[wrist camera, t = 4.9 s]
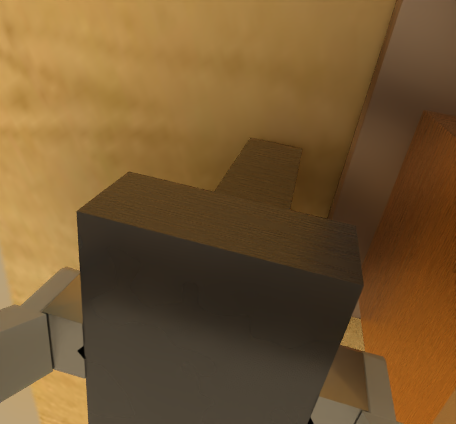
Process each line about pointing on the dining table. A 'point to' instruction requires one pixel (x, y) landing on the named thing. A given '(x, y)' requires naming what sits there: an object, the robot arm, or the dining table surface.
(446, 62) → the walnut base board
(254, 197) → the grey t-shaped block
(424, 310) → the wooden slotted box
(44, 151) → the dining table surface
